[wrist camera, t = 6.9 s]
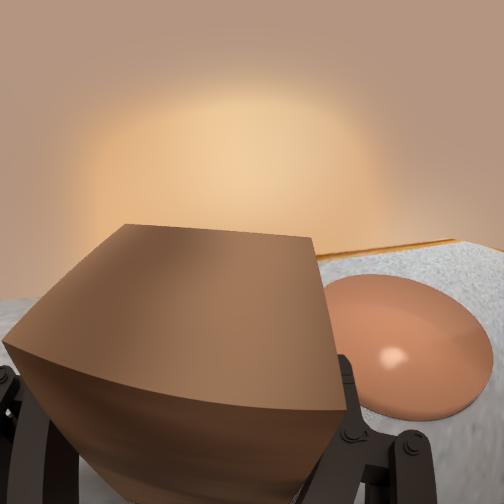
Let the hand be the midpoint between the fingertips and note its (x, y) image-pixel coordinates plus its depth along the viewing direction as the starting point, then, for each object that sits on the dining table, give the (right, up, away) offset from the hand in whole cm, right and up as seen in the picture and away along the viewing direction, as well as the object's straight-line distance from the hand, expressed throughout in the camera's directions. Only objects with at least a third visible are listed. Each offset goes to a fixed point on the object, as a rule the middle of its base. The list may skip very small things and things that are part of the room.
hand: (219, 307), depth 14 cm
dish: (+14, -5, +8) cm, 17 cm away
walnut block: (-1, -8, -2) cm, 8 cm away
